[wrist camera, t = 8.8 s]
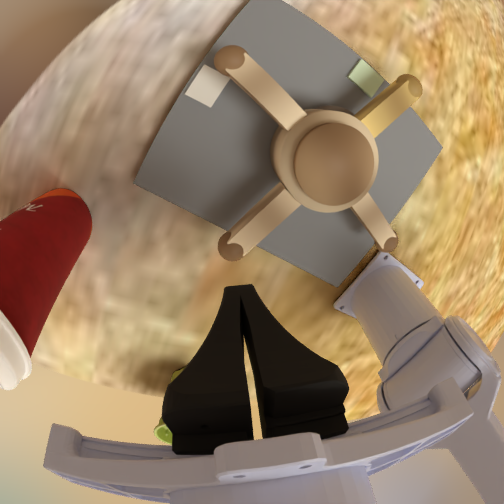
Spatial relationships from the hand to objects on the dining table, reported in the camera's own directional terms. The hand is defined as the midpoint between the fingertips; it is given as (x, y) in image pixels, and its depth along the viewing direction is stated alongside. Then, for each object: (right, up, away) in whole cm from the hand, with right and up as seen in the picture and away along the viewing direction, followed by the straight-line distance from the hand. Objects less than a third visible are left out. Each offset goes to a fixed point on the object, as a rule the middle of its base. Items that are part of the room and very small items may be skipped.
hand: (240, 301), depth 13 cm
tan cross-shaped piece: (+5, +10, +5) cm, 12 cm away
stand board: (+5, +10, +6) cm, 13 cm away
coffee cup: (-16, +5, +7) cm, 18 cm away
